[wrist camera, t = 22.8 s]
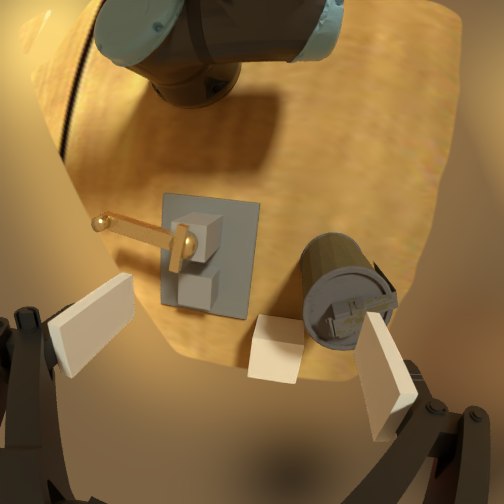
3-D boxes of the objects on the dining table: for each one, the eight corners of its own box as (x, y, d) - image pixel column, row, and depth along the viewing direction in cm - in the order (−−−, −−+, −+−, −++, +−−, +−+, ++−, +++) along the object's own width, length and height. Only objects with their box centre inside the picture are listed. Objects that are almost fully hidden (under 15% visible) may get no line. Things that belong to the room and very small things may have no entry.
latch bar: (203, 224, 38) (192, 230, 34) (193, 266, 40) (183, 277, 36) (110, 197, 39) (94, 201, 35) (105, 236, 41) (89, 243, 37)
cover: (258, 313, 52) (252, 337, 44) (303, 320, 51) (304, 345, 43) (253, 350, 54) (247, 376, 46) (295, 356, 53) (295, 383, 46)
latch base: (165, 192, 48) (136, 199, 39) (260, 203, 47) (251, 212, 37) (163, 300, 54) (139, 326, 44) (247, 316, 52) (236, 347, 43)
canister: (309, 299, 50) (314, 373, 31) (293, 242, 48) (291, 291, 28) (370, 283, 48) (407, 348, 28) (358, 224, 45) (398, 262, 26)
